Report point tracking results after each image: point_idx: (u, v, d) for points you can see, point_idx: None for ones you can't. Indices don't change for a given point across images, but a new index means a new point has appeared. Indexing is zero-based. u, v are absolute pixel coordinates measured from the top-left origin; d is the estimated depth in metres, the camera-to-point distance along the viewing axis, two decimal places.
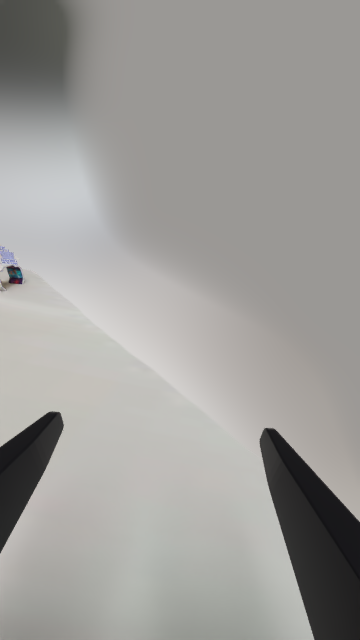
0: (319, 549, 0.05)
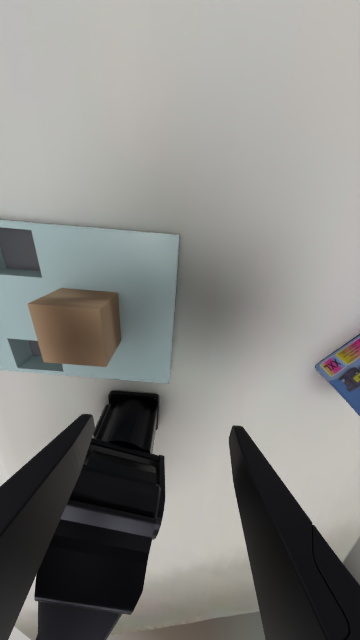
0: (269, 545, 0.05)
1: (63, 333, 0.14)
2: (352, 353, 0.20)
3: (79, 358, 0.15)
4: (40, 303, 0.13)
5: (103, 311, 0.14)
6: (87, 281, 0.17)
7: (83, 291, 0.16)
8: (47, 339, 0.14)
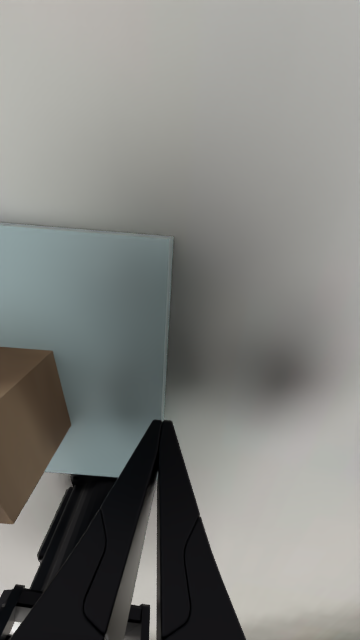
0: (159, 537, 0.05)
1: None
2: None
3: None
4: None
5: None
6: None
7: None
8: None
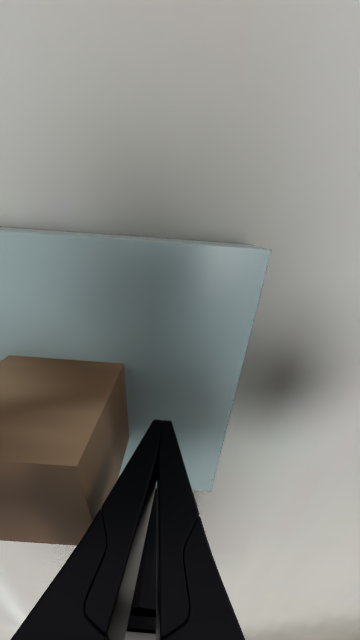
0: None
1: None
2: None
3: (38, 535, 0.07)
4: None
5: (88, 454, 0.05)
6: (62, 345, 0.08)
7: (51, 366, 0.08)
8: None
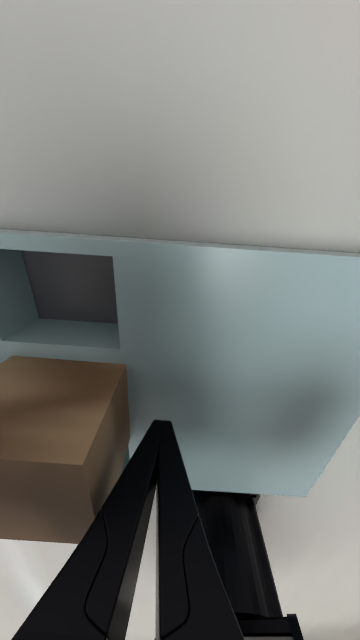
0: (158, 537, 0.05)
1: None
2: None
3: (41, 534, 0.07)
4: None
5: (92, 453, 0.05)
6: (212, 355, 0.08)
7: (55, 366, 0.08)
8: None
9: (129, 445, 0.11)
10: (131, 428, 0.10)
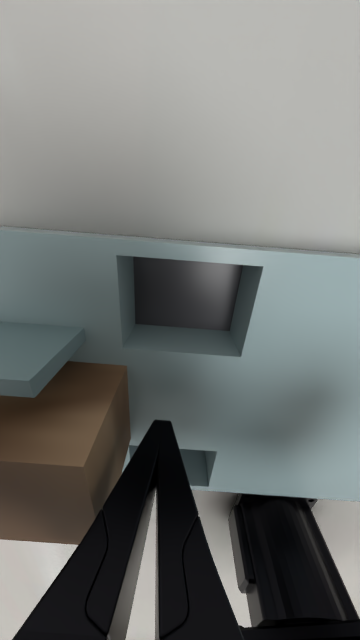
0: (157, 537, 0.05)
1: None
2: None
3: (42, 535, 0.07)
4: None
5: (93, 455, 0.05)
6: (332, 364, 0.08)
7: None
8: None
9: (218, 451, 0.11)
10: (226, 434, 0.10)
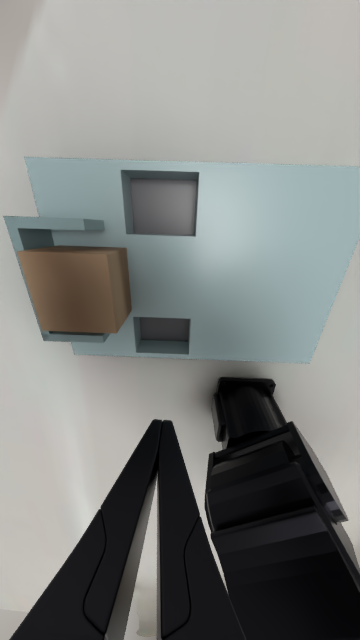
0: (159, 537, 0.05)
1: (62, 290, 0.12)
2: None
3: (84, 323, 0.13)
4: (33, 251, 0.11)
5: (110, 260, 0.11)
6: (250, 238, 0.14)
7: (85, 246, 0.14)
8: (44, 299, 0.12)
9: (191, 318, 0.17)
10: (194, 302, 0.16)
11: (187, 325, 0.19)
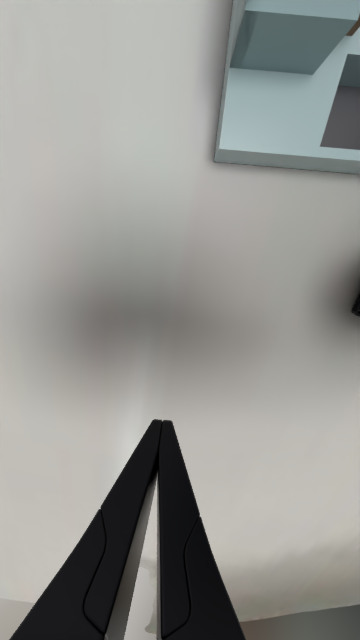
0: (159, 537, 0.05)
1: None
2: None
3: None
4: None
5: None
6: None
7: None
8: None
9: None
10: None
11: None
